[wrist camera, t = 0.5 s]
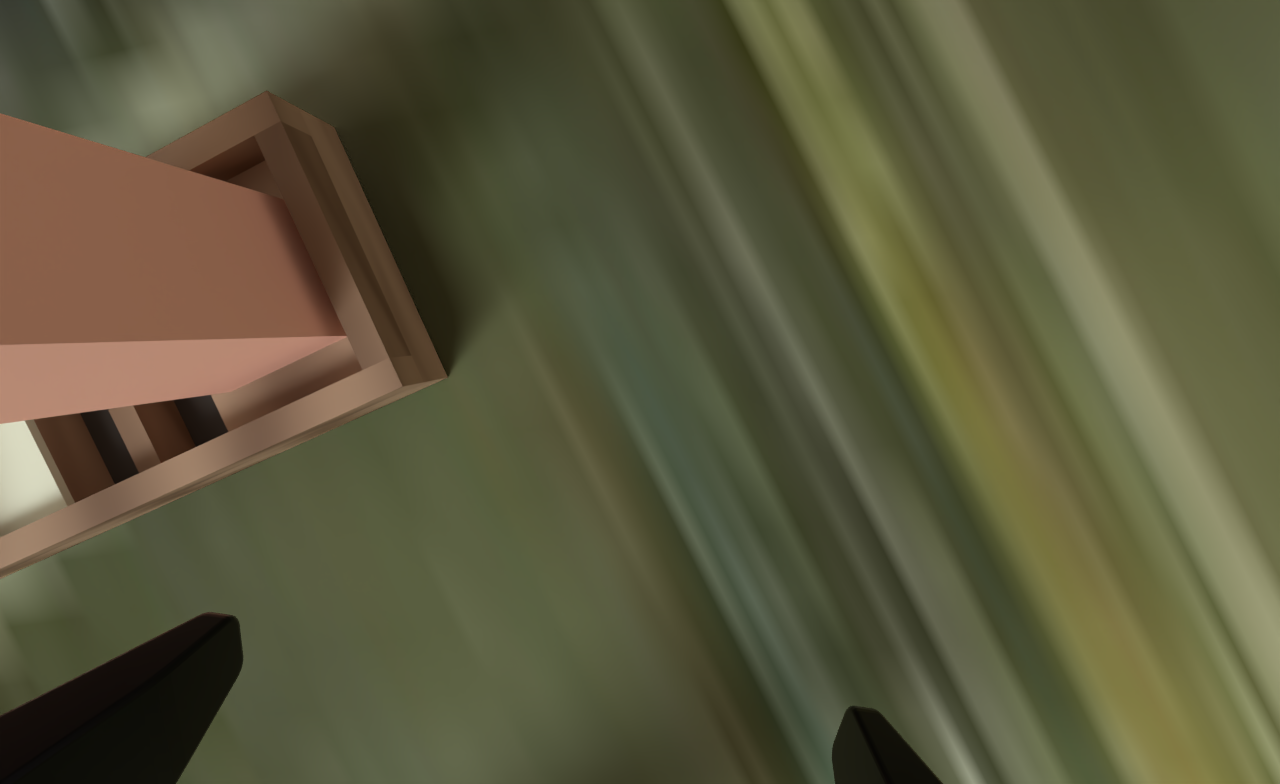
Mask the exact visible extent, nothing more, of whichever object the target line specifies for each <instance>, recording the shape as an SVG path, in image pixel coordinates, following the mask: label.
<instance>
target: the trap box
mask: <svg viewBox="0 0 1280 784" xmlns="http://www.w3.org/2000/svg"><path fill="white" fill-rule="evenodd" d="M146 158H149V159H152V160H156V161H159V162H162V163H165V164H169V165H172V166H175V167H179V168H182V169H185V170H189V171H192V172H195V173H199V174H202V175H205V176H208V177H212V178H215V179H218V180H222V181H225V182H228V183H232V184H235V185H238V186H241V187H245V188H248V189H251V190H255V191H258V192H261V193H265V194H268V195H271V196H274V197H278V198H281V199H284V201H285V203H286V206H287V208H288V210H289V212H290V214H291V216H292V219H293V221H294V223H295V225H296V227H297V229H298V232H299V234H300V236H301V238H302V240H303V242H304V245H305V247H306V249H307V251H308V253H309V255H310V258H311V260H312V262H313V264H314V266H315V268H316V271H317V273H318V275H319V277H320V279H321V281H322V284H323V286H324V288H325V290H326V292H327V294H328V296H329V299H330V301H331V303H332V305H333V307H334V309H335V312H336V314H337V316H338V318H339V320H340V322H341V325H342V327H343V329H344V331H345V333H346V335H347V337H346V338H344V339H342V340H339V341H337V342H335V343H333V344H331V345H329V346H327V347H325V348H323V349H320V350H318V351H316V352H314V353H312V354H310V355H308V356H306V357H303V358H301V359H299V360H297V361H295V362H293V363H291V364H289V365H287V366H284V367H282V368H280V369H278V370H276V371H274V372H272V373H270V374H267V375H265V376H263V377H261V378H259V379H257V380H255V381H253V382H251V383H248V384H246V385H244V386H242V387H240V388H238V389H236V390H234V391H232V392H227V393H219V394H212V395H205V396H198V397H191V398H184V399H176V400H169V401H162V402H155V403H148V404H140V405H133V406H126V407H119V408H112V409H104V410H97V411H90V412H83V413H76V414H68V415H61V416H54V417H47V418H40V419H32V420H25V421H18V422H11V423H4V424H0V579H1V578H3V577H6V576H8V575H10V574H12V573H14V572H17V571H19V570H21V569H23V568H26V567H28V566H30V565H32V564H34V563H37V562H39V561H41V560H43V559H46V558H48V557H50V556H52V555H54V554H57V553H59V552H61V551H63V550H66V549H68V548H70V547H72V546H74V545H77V544H79V543H81V542H83V541H86V540H88V539H90V538H92V537H94V536H97V535H99V534H101V533H103V532H106V531H108V530H110V529H112V528H114V527H117V526H119V525H121V524H123V523H126V522H128V521H130V520H132V519H134V518H137V517H139V516H141V515H143V514H146V513H148V512H150V511H152V510H154V509H157V508H159V507H161V506H163V505H166V504H168V503H170V502H172V501H174V500H177V499H179V498H181V497H183V496H186V495H188V494H190V493H192V492H194V491H197V490H199V489H201V488H203V487H206V486H208V485H210V484H212V483H214V482H217V481H219V480H221V479H223V478H226V477H228V476H230V475H232V474H234V473H237V472H239V471H241V470H243V469H246V468H248V467H250V466H252V465H254V464H257V463H259V462H261V461H263V460H266V459H268V458H270V457H272V456H274V455H277V454H279V453H281V452H283V451H286V450H288V449H290V448H292V447H294V446H297V445H299V444H301V443H303V442H306V441H308V440H310V439H312V438H314V437H317V436H319V435H321V434H323V433H326V432H328V431H330V430H332V429H334V428H337V427H339V426H341V425H343V424H346V423H348V422H350V421H352V420H354V419H357V418H359V417H361V416H363V415H366V414H368V413H370V412H372V411H374V410H377V409H379V408H381V407H383V406H386V405H388V404H390V403H392V402H394V401H397V400H399V399H401V398H403V397H406V396H408V395H410V394H412V393H414V392H417V391H419V390H421V389H423V388H426V387H428V386H430V385H432V384H434V383H437V382H439V381H441V380H443V379H446V378H448V377H447V375H446V372H445V370H444V368H443V366H442V364H441V361H440V359H439V357H438V355H437V353H436V350H435V348H434V346H433V344H432V342H431V339H430V337H429V335H428V333H427V331H426V328H425V326H424V324H423V322H422V320H421V317H420V315H419V313H418V311H417V309H416V306H415V304H414V302H413V300H412V298H411V295H410V293H409V291H408V289H407V286H406V284H405V282H404V280H403V278H402V275H401V273H400V271H399V269H398V267H397V264H396V262H395V260H394V258H393V256H392V253H391V251H390V249H389V247H388V245H387V242H386V240H385V238H384V236H383V234H382V231H381V229H380V227H379V225H378V223H377V220H376V218H375V216H374V214H373V212H372V209H371V207H370V205H369V203H368V201H367V198H366V196H365V194H364V192H363V190H362V187H361V185H360V183H359V181H358V178H357V176H356V174H355V172H354V170H353V167H352V165H351V163H350V161H349V159H348V156H347V154H346V152H345V150H344V148H343V145H342V143H341V141H340V139H339V137H338V134H337V132H336V130H335V128H334V127H333V126H331V125H329V124H328V123H326V122H324V121H322V120H320V119H318V118H316V117H315V116H313V115H311V114H309V113H307V112H305V111H303V110H302V109H300V108H298V107H296V106H294V105H292V104H290V103H289V102H287V101H285V100H283V99H281V98H279V97H278V96H276V95H274V94H272V93H270V92H268V91H265V92H263V93H262V94H260V95H258V96H256V97H254V98H252V99H251V100H249V101H247V102H245V103H243V104H242V105H240V106H238V107H236V108H234V109H232V110H231V111H229V112H227V113H225V114H223V115H221V116H220V117H218V118H216V119H214V120H212V121H211V122H209V123H207V124H205V125H203V126H201V127H200V128H198V129H196V130H194V131H192V132H190V133H189V134H187V135H185V136H183V137H181V138H180V139H178V140H176V141H174V142H172V143H170V144H169V145H167V146H165V147H163V148H161V149H159V150H158V151H156V152H154V153H152V154H150V155H149V156H147V157H146Z"/></svg>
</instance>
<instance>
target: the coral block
mask: <svg viewBox="0 0 1280 784" xmlns="http://www.w3.org/2000/svg"><path fill="white" fill-rule="evenodd" d="M346 337H347V335H346V333H345V331H344V329H343V327H342V325H341V322H340V320H339V318H338V316H337V314H336V312H335V309H334V307H333V305H332V303H331V301H330V299H329V296H328V294H327V292H326V290H325V288H324V286H323V284H322V281H321V279H320V277H319V275H318V273H317V271H316V268H315V266H314V264H313V262H312V260H311V258H310V255H309V253H308V251H307V249H306V247H305V245H304V242H303V240H302V238H301V236H300V234H299V232H298V229H297V227H296V225H295V223H294V221H293V219H292V216H291V214H290V212H289V210H288V208H287V206H286V203H285V201H284V199H281V198H278V197H274V196H271V195H268V194H265V193H261V192H258V191H255V190H251V189H248V188H245V187H241V186H238V185H235V184H232V183H228V182H225V181H222V180H218V179H215V178H212V177H208V176H205V175H202V174H199V173H195V172H192V171H189V170H185V169H182V168H179V167H175V166H172V165H169V164H165V163H162V162H159V161H156V160H152V159H149V158H146V157H142V156H139V155H136V154H132V153H129V152H126V151H123V150H119V149H116V148H113V147H109V146H106V145H103V144H99V143H96V142H93V141H90V140H86V139H83V138H80V137H76V136H73V135H70V134H66V133H63V132H60V131H56V130H53V129H50V128H47V127H43V126H40V125H37V124H33V123H30V122H27V121H23V120H20V119H17V118H14V117H10V116H7V115H4V114H0V424H4V423H11V422H18V421H25V420H32V419H40V418H47V417H54V416H61V415H68V414H76V413H83V412H90V411H97V410H104V409H112V408H119V407H126V406H133V405H140V404H148V403H155V402H162V401H169V400H176V399H184V398H191V397H198V396H205V395H212V394H219V393H227V392H232V391H234V390H236V389H238V388H240V387H242V386H244V385H246V384H248V383H251V382H253V381H255V380H257V379H259V378H261V377H263V376H265V375H267V374H270V373H272V372H274V371H276V370H278V369H280V368H282V367H284V366H287V365H289V364H291V363H293V362H295V361H297V360H299V359H301V358H303V357H306V356H308V355H310V354H312V353H314V352H316V351H318V350H320V349H323V348H325V347H327V346H329V345H331V344H333V343H335V342H337V341H339V340H342V339H344V338H346Z"/></svg>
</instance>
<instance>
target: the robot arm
mask: <svg viewBox="0 0 1280 784" xmlns="http://www.w3.org/2000/svg"><path fill="white" fill-rule="evenodd" d="M242 664H243V650H242V641H241V633H240V624H239V621H238V619H237V618H236V617H235V616H233V615H227V614H220V613H214V612H207V613H203V614H201V615H199V616H197V617H195V618H193V619H191V620H189V621H187V622H185V623H183V624H181V625H179V626H177V627H175V628H173V629H171V630H169V631H167V632H165V633H163V634H161V635H159V636H157V637H155V638H153V639H151V640H149V641H147V642H145V643H143V644H141V645H139V646H137V647H135V648H133V649H131V650H129V651H127V652H125V653H123V654H121V655H119V656H117V657H115V658H113V659H111V660H109V661H108V662H106V663H104V664H102V665H100V666H98V667H96V668H94V669H92V670H90V671H88V672H86V673H84V674H82V675H80V676H78V677H76V678H74V679H72V680H70V681H68V682H66V683H64V684H62V685H60V686H58V687H56V688H54V689H52V690H50V691H48V692H46V693H44V694H42V695H40V696H38V697H36V698H34V699H32V700H30V701H28V702H26V703H24V704H22V705H20V706H18V707H16V708H14V709H13V710H11V711H9V712H7V713H5V714H3V715H1V716H0V784H176V783H177V781H178V779H179V778H180V776H181V774H182V773H183V771H184V769H185V768H186V766H187V764H188V763H189V761H190V759H191V757H192V756H193V754H194V752H195V751H196V749H197V747H198V745H199V744H200V742H201V740H202V738H203V737H204V735H205V733H206V731H207V730H208V728H209V726H210V724H211V723H212V721H213V719H214V717H215V716H216V714H217V712H218V711H219V709H220V707H221V705H222V704H223V702H224V700H225V698H226V697H227V695H228V693H229V691H230V690H231V688H232V686H233V684H234V683H235V681H236V679H237V677H238V675H239V673H240V671H241V668H242ZM832 763H833V771H834V778H835V784H943V783H942V782H941V781H940V780H939V778H938V777H937V776H936V775H935V774H934V773H933V772H932V771H931V769H930V768H929V767H928V766H927V765H926V764H925V763H924V761H923V760H922V759H921V758H920V757H919V756H918V755H917V754H916V752H915V751H914V750H913V749H912V748H911V747H910V746H909V744H908V743H907V742H906V741H905V740H904V739H903V738H902V737H901V735H900V734H899V733H898V732H897V731H896V730H895V729H894V727H893V726H892V725H891V724H890V723H889V722H888V721H887V720H886V718H885V717H884V716H883V715H882V714H881V713H880V712H879V711H877V710H875V709H872V708H865V707H858V706H850V707H849V708H848V709H847V710H846V712H845V714H844V717H843V719H842V722H841V725H840V727H839V730H838V732H837V735H836V738H835V740H834V743H833V748H832Z"/></svg>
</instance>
